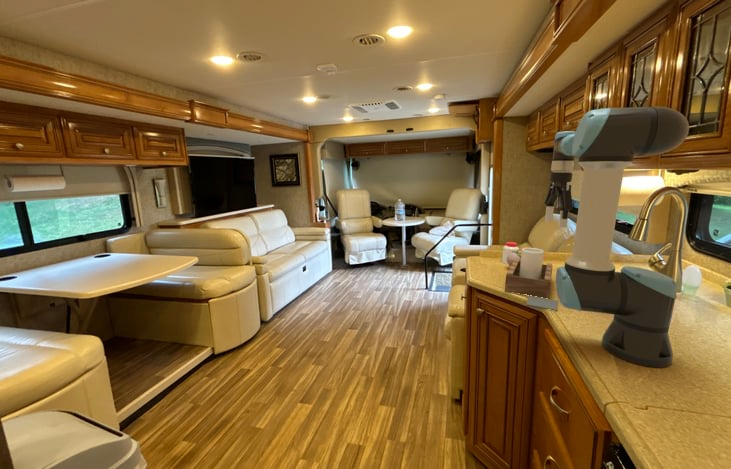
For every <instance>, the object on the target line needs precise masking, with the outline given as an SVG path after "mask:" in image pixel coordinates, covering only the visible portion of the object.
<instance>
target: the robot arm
mask: <svg viewBox="0 0 731 469" xmlns="http://www.w3.org/2000/svg"><path fill="white" fill-rule="evenodd" d="M689 132H690V125H689V121H688V119H687V118H686V117H685V115H684V114H682V113H681V111H680V112H679V111H678V110H675V109H674V108H670V107H665V106H646V107H645V106H639V107H636V106H635V107H606V108H598V109H592V110H589V111H588V112H587V111H586V113H585V114H584V115H583V116H582V118H581V119H580V121H579V123H578V125H577V127H576V131H573V130H570V131H569V130H566V131H559V132H556V134H555V136H554V137H555V138H554V141H553V154H552V161H551V168H550V171H551V172H550V178H549V181H550V182H552V183H549V188H548V191H547V194H546V197H545V200H544V205H545V206H546V208H545V209H546V210H545V217H544V222H549V223H552V222H553V218H554V209H555V203H556V201H557V199H559V204H560V206H561V208H560V209H559V211H560V212H559V220H558V228H567V227H568V220H569V219H568V218H569V212H570V211H572V210H573V199H572V185H571V184H568V183H571V182H572V180H573V173H572V172H573V170H574V166H575V162H574V161H575V157H577V158H578V161H577V163H578V165H579V166H580V167H581V168H582V169H583V173H582V182H581V188H580V195H579V196H580V197H579V201H578V202H579V203H578V211H577V217H576V225H575V230H574V231H575V233H574V240H573V247H572V252H571V253H572V254H571V255H570V256H569V257H568V258H566V259H565V261H564V266H563V265H562V266H559V267H557V269H556V273H555V285H556V286H555V287H556V294H557V297H558V302H559V303H560V304H561V305H562V307H563V308H566V309H571V310H577V311H579V312H582V311H583V312H584V311H585V312H591V313H599V314H606V315H608V314H609V315H613V319H612V320H611V322H610V324H609V326H608V327H607V328H606V330H605V331H604V333H603V335H602V337H601V338H602V339H601V346H602V347H603V348H604V349H605V351H607V352H608V353H610V354H612V355H613V356H614V357H617V358H619V359H621V360H623V361H626V362H630V363H632V364H636V365H639V366H644V367H650V368H666V367H669V366H670V365H671V364H672V361H673V356H674V353H673V350H672V344H671V341H670V336H669V335H670V334H669V332H670V330H669V329H670V326H671V321H672V318H673V317H672V316H673V313H674V309H675V308H674V307H675V303H676V299H677V297H678V296H677V292H678V291H677V290H678V284H677V281H675V279H673V278H672V277H670V276H668V275H667V274H666V275H665V274H663V273H661V272H657V271H653V270H650V269H647V268H643V267H636V266H629V265H627V266H626V265H625V266H623V267H622V268H620V271H616V266H615V265H614V263H612V262H611V260H610V258H611V254H612V253H611V252H612V246H613V240H614V234H615V228H616V227H615V226H616V223H617V222H616V221H617V217H618V209H619V205H620V204H619V202H620V197H621V190H622V189H621V188H622V184H623V179H624V178H623V177H624V171H625V170H626V168H628V167H630V166H631V165H632V164H633V162H634V157H635V156H638V157H640V156H642V157H643V156H654V155H656V156H657V155H661V154H665V153H668V152H671V151H672V150H674V149H677V148H678V147H679V146H680V145H681V144H683V143H684V141H686V138H687V137H688V135H689Z"/></svg>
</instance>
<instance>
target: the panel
mask: <svg viewBox="0 0 731 469" xmlns="http://www.w3.org/2000/svg"><path fill="white" fill-rule="evenodd" d="M558 302H559V300H556V299H551V298H549V299H546V298H541V297H535V296H530V295H529V296H527V300H526V304H525V306H526V307H530V308H531V307H532V308H536V309H543V310H546V309H551V310H555V311H554V312H556V311H557V312H558ZM551 310H550V311H551Z"/></svg>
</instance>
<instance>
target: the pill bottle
mask: <svg viewBox="0 0 731 469" xmlns="http://www.w3.org/2000/svg"><path fill="white" fill-rule="evenodd" d="M517 250H518V253H520V248H519V246H518V243H517V242H514V241H507V242H505V245H503V246H502V256H501V257H502V258H501V263H502V264H505V265H509V264H508V263H507V256H508V255H509V254H510V253H512V251H517Z"/></svg>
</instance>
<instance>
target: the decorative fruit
mask: <svg viewBox="0 0 731 469" xmlns="http://www.w3.org/2000/svg"><path fill="white" fill-rule="evenodd" d="M521 254H522V252H519V253H518V250H517V251H512V253H510V254H509V255H508V256H507V263H508V264H507V265H508V266H510V267H511V265H512V263H513V261H514V259H519V261H521Z"/></svg>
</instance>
